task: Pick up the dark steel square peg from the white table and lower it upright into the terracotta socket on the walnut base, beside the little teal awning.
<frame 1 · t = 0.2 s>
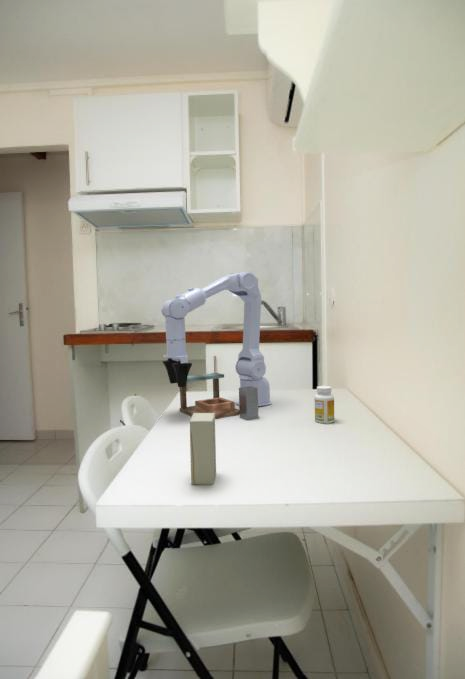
hand: (177, 384, 131), 10 cm above the table, tool pointing down, fingers open, 7 cm apart
supplement bottle: (324, 421, 123), on the table
steel peg: (249, 418, 129), on the table
skincare box: (204, 479, 84), on the table
socket station: (215, 414, 135), on the table
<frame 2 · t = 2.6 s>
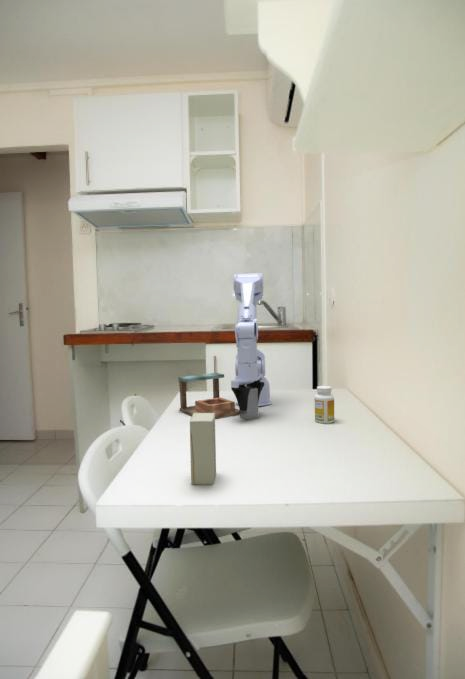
hand: (248, 408, 129), 3 cm above the table, tool pointing down, fingers closed on steel peg, 5 cm apart
steel peg: (249, 417, 129), on the table, touching gripper
everything else where it was.
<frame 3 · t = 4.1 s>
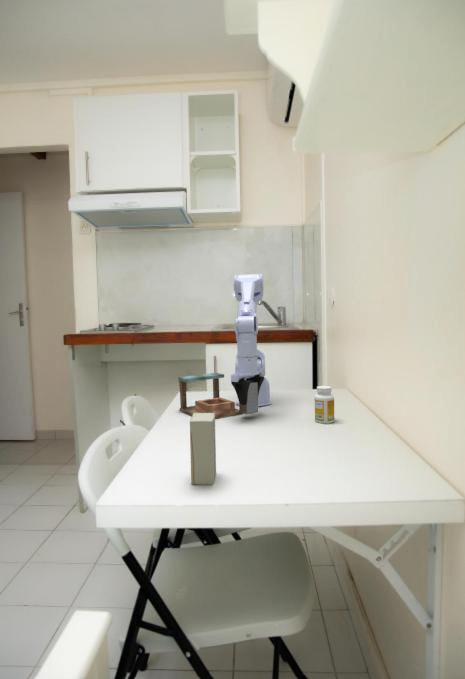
hand: (248, 402, 129), 5 cm above the table, tool pointing down, fingers closed on steel peg, 5 cm apart
steel peg: (248, 412, 129), point 2 cm above the table, touching gripper
everything else where it was.
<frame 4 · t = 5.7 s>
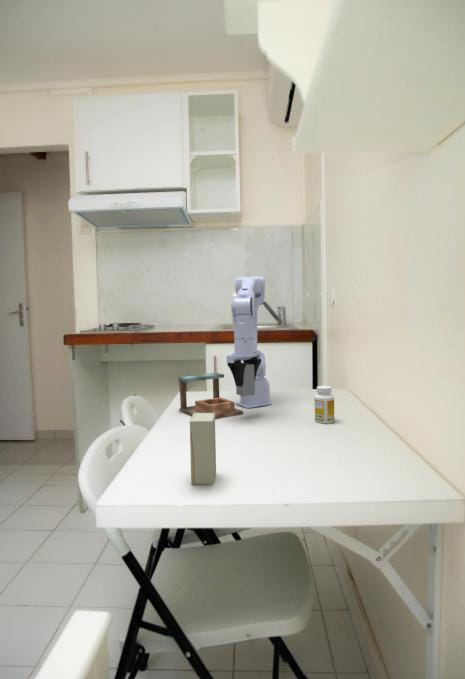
hand: (245, 384, 129), 10 cm above the table, tool pointing down, fingers closed on steel peg, 5 cm apart
steel peg: (245, 394, 129), point 7 cm above the table, touching gripper
everything else where it was.
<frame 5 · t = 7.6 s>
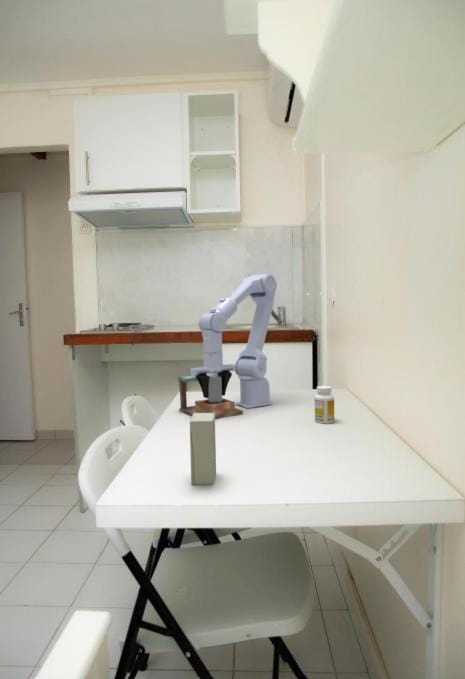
hand: (214, 396, 134), 6 cm above the table, tool pointing down, fingers closed on steel peg, 5 cm apart
steel peg: (214, 405, 134), point 3 cm above the table, touching gripper
everything else where it was.
when the fingers open (5 cm above the table, at t = 9.0 s): steel peg stays where it is, resting on socket station.
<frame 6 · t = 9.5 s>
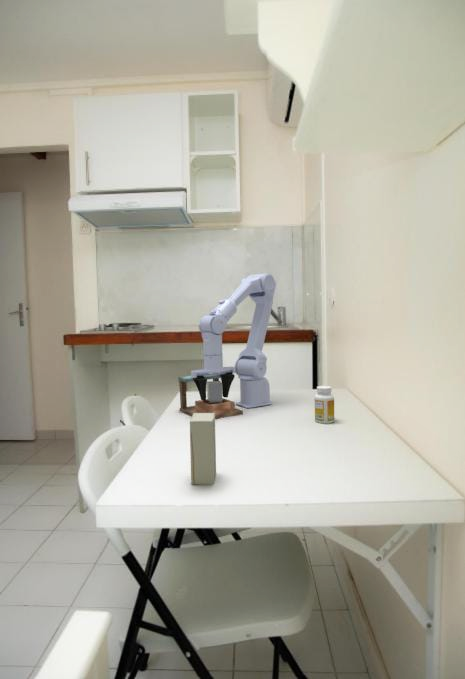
hand: (214, 398, 134), 5 cm above the table, tool pointing down, fingers open, 7 cm apart
steel peg: (215, 411, 134), point 1 cm above the table, touching socket station
everything else where it was.
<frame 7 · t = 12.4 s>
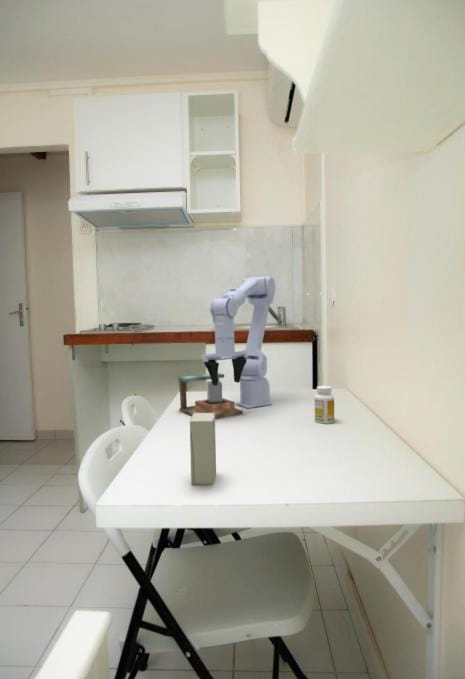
hand: (226, 383, 132), 10 cm above the table, tool pointing down, fingers open, 7 cm apart
nothing on the table moved.
at the end: steel peg 0.2 cm off-centre on the socket station, point 1.0 cm above the socket station's base; steel peg tilted 0°; the gripper is holding nothing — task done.
